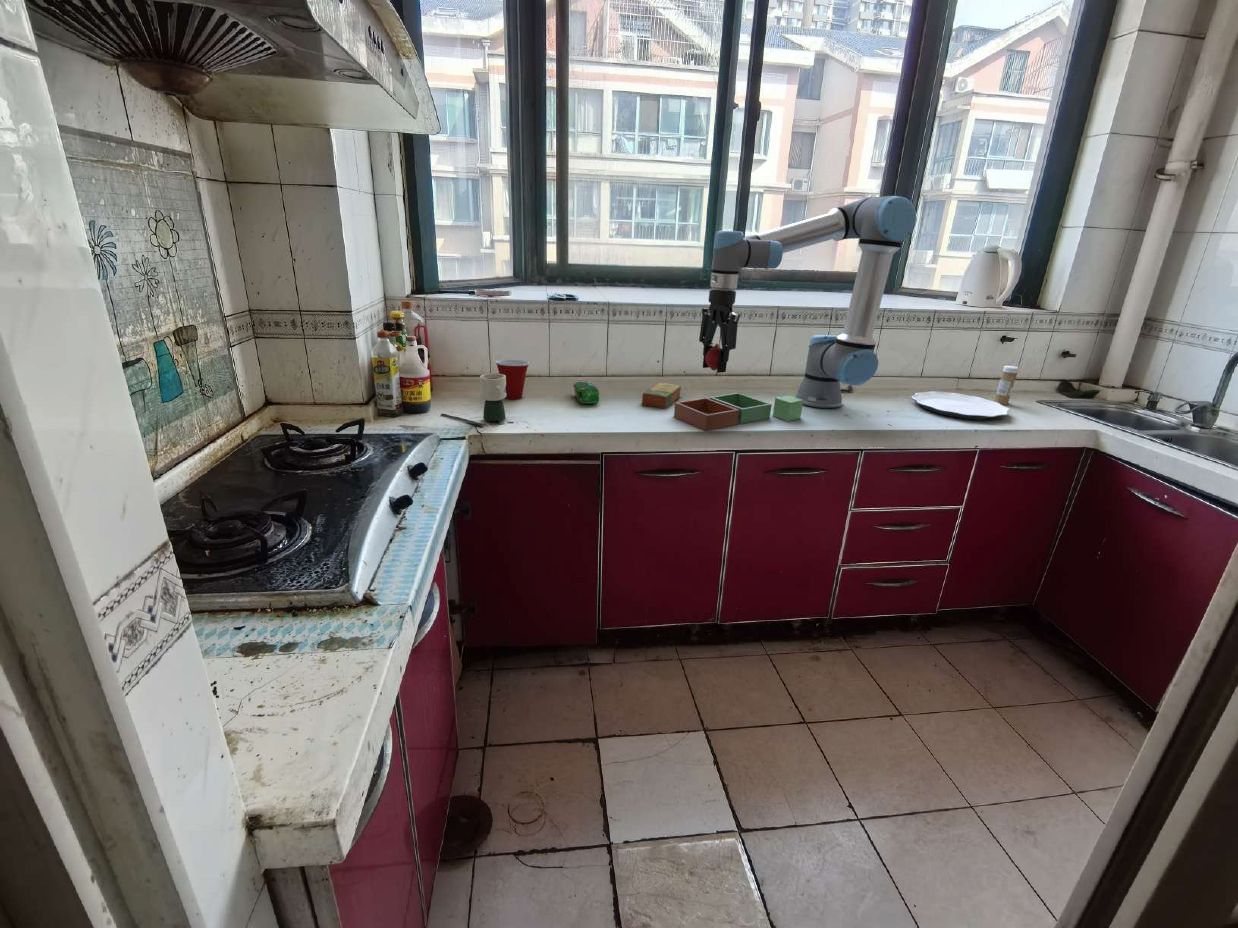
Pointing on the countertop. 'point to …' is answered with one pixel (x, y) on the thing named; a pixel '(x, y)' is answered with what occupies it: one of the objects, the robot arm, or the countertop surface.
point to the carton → (661, 395)
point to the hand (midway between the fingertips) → (713, 369)
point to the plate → (960, 405)
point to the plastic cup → (513, 376)
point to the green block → (787, 408)
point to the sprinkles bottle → (1006, 384)
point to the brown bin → (706, 413)
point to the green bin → (745, 407)
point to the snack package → (586, 392)
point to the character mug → (493, 396)
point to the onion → (713, 357)
